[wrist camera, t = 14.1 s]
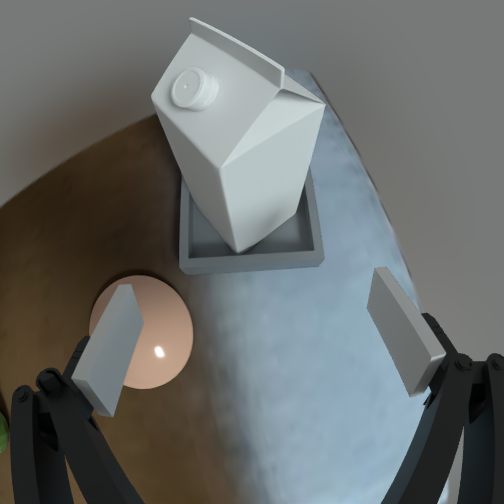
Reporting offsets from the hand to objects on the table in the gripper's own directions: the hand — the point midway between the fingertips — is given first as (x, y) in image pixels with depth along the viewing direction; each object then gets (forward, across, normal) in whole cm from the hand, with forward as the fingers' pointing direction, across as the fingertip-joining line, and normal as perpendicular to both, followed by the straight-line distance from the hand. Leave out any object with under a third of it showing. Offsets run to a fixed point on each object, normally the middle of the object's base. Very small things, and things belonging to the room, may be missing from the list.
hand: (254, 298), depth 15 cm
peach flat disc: (+7, -11, -9) cm, 16 cm away
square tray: (+16, 0, -1) cm, 16 cm away
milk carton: (+15, 0, -1) cm, 15 cm away
